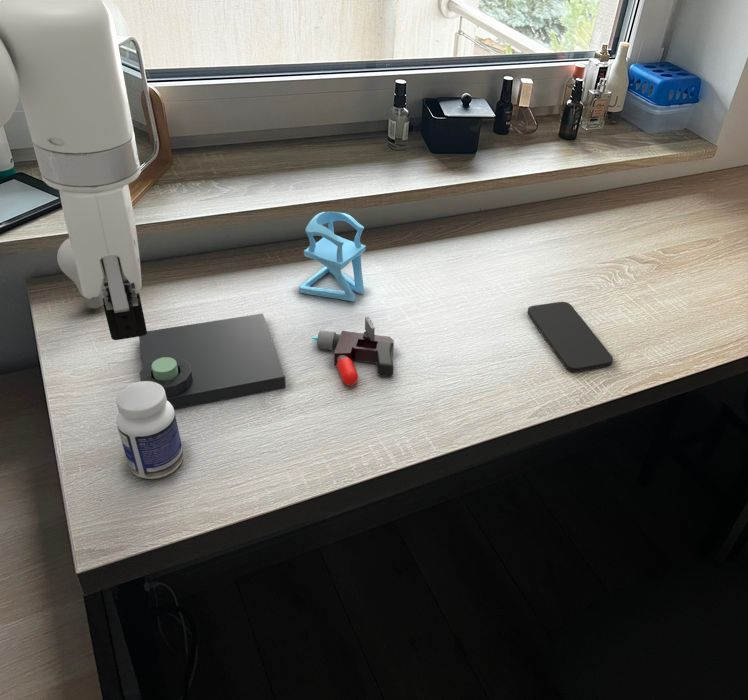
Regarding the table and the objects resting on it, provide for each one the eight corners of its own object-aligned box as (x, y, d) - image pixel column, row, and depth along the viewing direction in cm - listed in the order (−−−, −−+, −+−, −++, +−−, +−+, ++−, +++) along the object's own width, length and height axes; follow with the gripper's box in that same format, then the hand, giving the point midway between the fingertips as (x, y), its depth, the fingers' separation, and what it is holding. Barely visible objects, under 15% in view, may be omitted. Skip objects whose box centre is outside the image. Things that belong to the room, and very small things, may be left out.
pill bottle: (192, 446, 82) (179, 381, 76) (171, 484, 78) (155, 418, 72) (143, 439, 83) (126, 373, 76) (119, 477, 78) (99, 410, 72)
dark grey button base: (147, 414, 86) (142, 392, 84) (138, 344, 95) (133, 322, 93) (285, 387, 92) (284, 366, 90) (263, 324, 101) (261, 303, 99)
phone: (570, 369, 99) (524, 306, 109) (568, 374, 99) (524, 311, 110) (616, 361, 101) (568, 300, 112) (615, 365, 102) (567, 304, 112)
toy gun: (314, 337, 100) (313, 309, 97) (400, 348, 100) (401, 320, 97) (296, 383, 93) (294, 354, 90) (388, 394, 93) (390, 365, 90)
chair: (344, 309, 106) (344, 238, 99) (298, 291, 108) (294, 220, 101) (372, 285, 112) (374, 216, 104) (327, 269, 114) (326, 200, 107)
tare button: (154, 383, 85) (152, 373, 84) (152, 369, 87) (150, 359, 86) (179, 379, 86) (177, 369, 85) (177, 365, 88) (175, 355, 87)
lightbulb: (113, 290, 104) (96, 222, 97) (125, 312, 100) (109, 243, 94) (67, 301, 101) (46, 232, 94) (78, 324, 97) (58, 254, 90)
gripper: (37, 125, 63) (83, 297, 75) (37, 202, 53) (91, 389, 64) (129, 120, 66) (160, 286, 78) (147, 192, 56) (180, 372, 67)
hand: (129, 332), depth 71 cm, fingers closed
